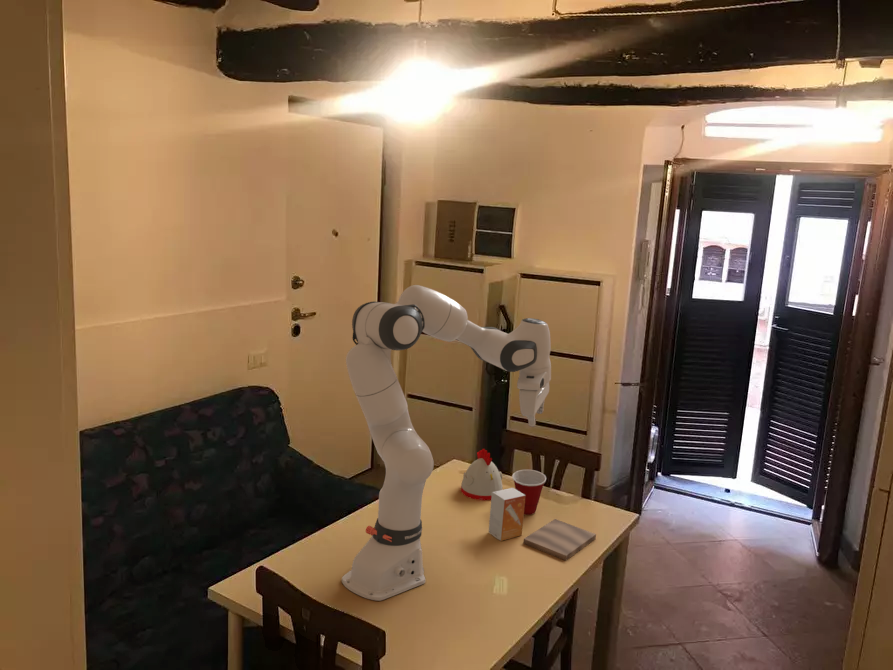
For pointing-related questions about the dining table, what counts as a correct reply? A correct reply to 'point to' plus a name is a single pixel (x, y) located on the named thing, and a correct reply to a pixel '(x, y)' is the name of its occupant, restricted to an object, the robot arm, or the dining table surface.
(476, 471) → the kitchen timer
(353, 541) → the dining table surface
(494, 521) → the small box
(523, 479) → the plastic cup
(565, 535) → the walnut board
